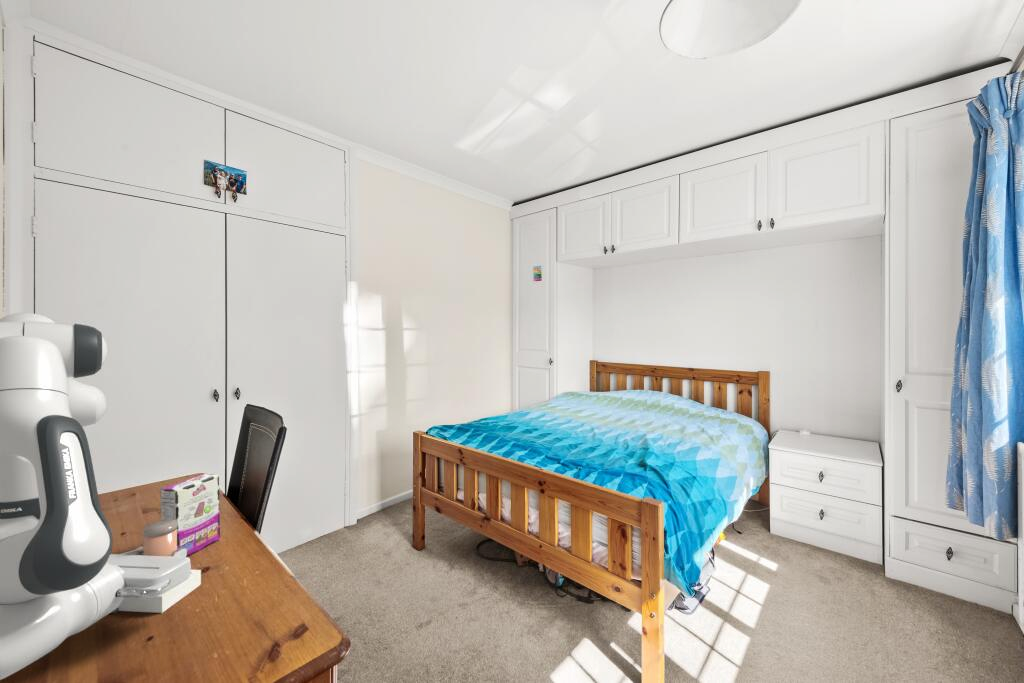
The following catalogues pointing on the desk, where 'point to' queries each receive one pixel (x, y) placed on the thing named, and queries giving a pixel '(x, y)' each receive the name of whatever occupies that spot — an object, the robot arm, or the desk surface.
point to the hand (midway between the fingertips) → (164, 551)
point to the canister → (160, 538)
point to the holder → (162, 597)
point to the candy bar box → (193, 511)
